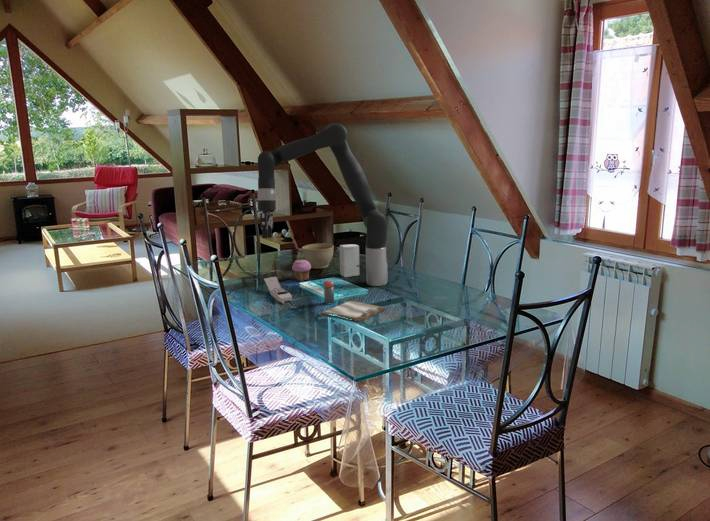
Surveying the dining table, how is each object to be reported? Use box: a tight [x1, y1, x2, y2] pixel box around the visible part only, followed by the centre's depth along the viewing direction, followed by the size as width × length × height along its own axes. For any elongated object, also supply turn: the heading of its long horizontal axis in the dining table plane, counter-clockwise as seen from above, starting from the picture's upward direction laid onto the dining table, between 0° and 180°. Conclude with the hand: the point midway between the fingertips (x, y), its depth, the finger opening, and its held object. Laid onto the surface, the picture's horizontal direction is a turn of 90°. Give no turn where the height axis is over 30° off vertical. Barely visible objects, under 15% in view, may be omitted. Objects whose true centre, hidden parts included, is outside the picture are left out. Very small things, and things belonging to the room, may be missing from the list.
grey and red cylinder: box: [323, 280, 335, 304], centre depth 243 cm, size 4×4×9 cm
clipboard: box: [321, 300, 387, 323], centre depth 231 cm, size 18×18×2 cm
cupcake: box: [291, 259, 312, 282], centre depth 279 cm, size 9×9×10 cm
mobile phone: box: [263, 276, 293, 305], centre depth 255 cm, size 6×6×25 cm
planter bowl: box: [301, 243, 335, 270], centre depth 304 cm, size 16×16×11 cm
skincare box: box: [339, 243, 360, 278], centre depth 285 cm, size 8×6×15 cm
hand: (267, 238), depth 251 cm, fingers open, 8 cm apart
